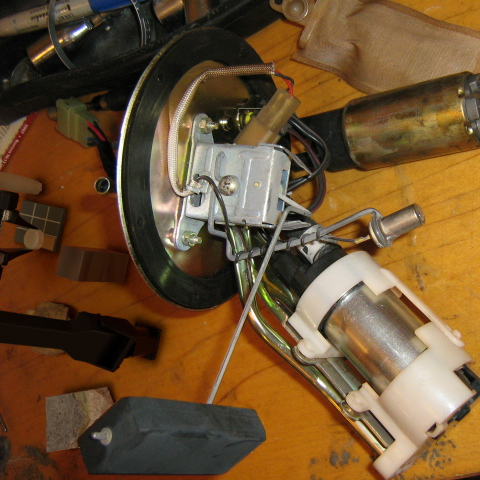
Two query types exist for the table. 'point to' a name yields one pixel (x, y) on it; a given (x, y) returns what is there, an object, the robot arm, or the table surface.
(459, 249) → the table surface
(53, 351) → the decorative rock
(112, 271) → the stand
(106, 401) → the geological specimen
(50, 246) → the board
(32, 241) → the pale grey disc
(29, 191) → the handle
